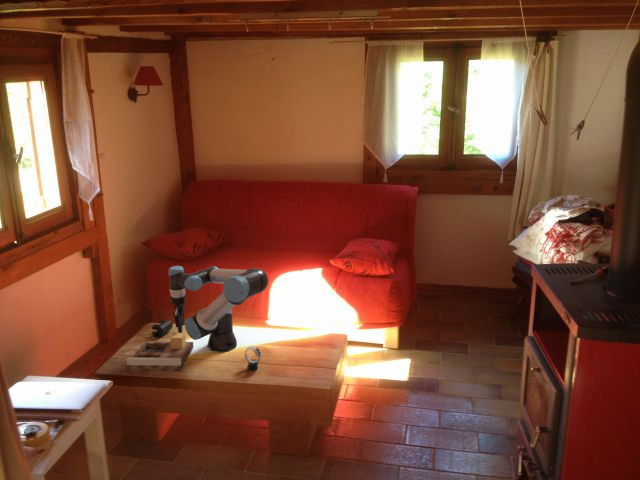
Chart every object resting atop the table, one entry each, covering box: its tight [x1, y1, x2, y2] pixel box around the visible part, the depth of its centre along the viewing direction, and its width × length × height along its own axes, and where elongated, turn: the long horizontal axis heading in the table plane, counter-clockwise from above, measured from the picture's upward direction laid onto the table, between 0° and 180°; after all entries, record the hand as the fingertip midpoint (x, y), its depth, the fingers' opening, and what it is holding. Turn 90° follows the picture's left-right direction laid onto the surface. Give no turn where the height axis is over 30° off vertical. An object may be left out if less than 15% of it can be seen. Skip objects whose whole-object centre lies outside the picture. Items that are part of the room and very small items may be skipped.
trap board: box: [126, 340, 194, 372], centre depth 298 cm, size 26×26×6 cm
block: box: [169, 332, 187, 349], centre depth 305 cm, size 6×6×6 cm
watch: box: [244, 346, 262, 372], centre depth 287 cm, size 6×8×11 cm
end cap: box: [151, 319, 173, 338], centre depth 327 cm, size 10×7×7 cm
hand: (181, 337), depth 311 cm, fingers closed
